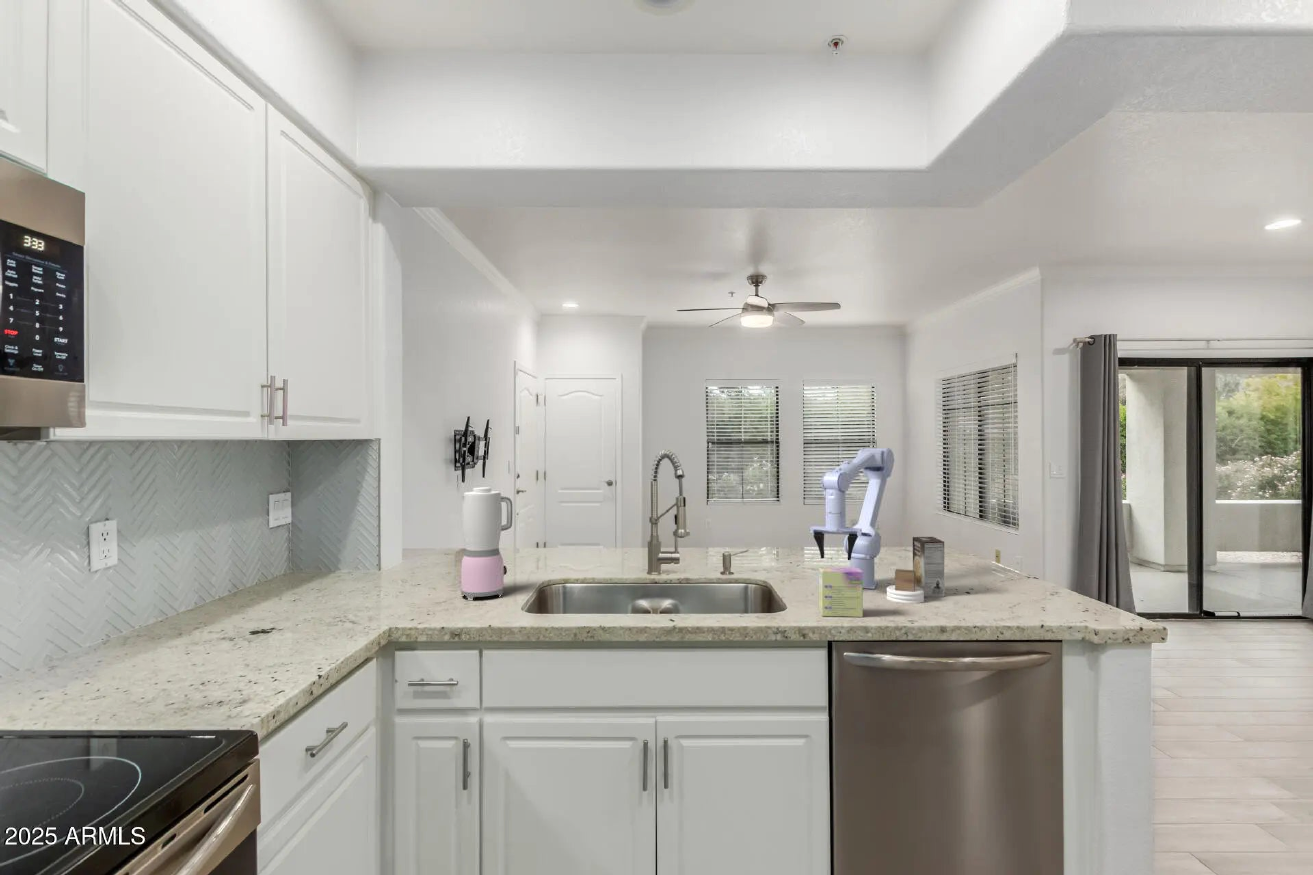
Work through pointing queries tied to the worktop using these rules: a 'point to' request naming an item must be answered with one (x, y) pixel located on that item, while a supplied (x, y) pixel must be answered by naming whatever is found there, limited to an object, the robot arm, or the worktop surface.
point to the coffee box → (929, 565)
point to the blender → (483, 542)
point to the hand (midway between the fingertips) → (835, 558)
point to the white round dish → (905, 595)
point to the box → (840, 592)
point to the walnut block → (905, 580)
